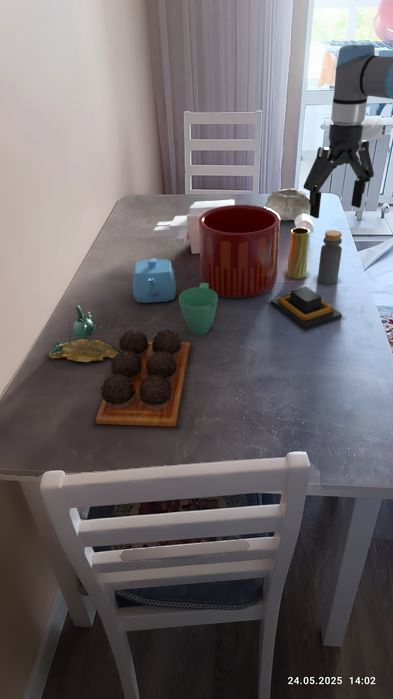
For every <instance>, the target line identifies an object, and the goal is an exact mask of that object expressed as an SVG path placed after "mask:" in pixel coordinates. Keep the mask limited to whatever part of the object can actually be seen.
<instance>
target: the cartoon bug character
mask: <svg viewBox="0 0 393 699" xmlns="http://www.w3.org/2000/svg"><path fill="white" fill-rule="evenodd" d="M75 310H76V312H77V314H78V317H77V318H76V320H75V321H74V323H73V332H72V331H69V332H67V333H66V334H65V335H66V336H68V342H64V343H62V342H59V340H58V339H56V344H55V343H54V344H53V347H52V349H50V352H49V354H48V356H49V358H51V359H62V358H63V359H64V358H66V359H67V360H71V361H74V362H75V361H76V362H81V363H82V362H83V363H90V362H96V361H97V362H99V361H103V360H104V358H110V359H113V358H114V356H116V354H118V353H119V352H120V351H119V352H118V351H117V350H116V349H113V346H112V345H111V344H108V343H106V342H104V341H101V339H99V340H98V339H95V340H92V339H90V338H89V337H91V336H92V335H93V334H94V332H95V330H96V328H97V329H99V330H101V329H102V328H104V324H100V325H99V326H97V324H94V323H93V321H92V319H93V316H92V315H91V312H90V311H88V312H87V316H86V315H84V313H83V312H82V309H81V307H80V305H75ZM71 336H74V337H73V341H71ZM77 338H80V339H78V340H76V339H77Z"/></svg>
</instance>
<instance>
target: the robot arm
mask: <svg viewBox="0 0 393 699" xmlns="http://www.w3.org/2000/svg"><path fill="white" fill-rule="evenodd" d="M375 48H376V47H375V45H374V44H373V43H366V42H365V43H364V42H363V43H361V42H360V43H359V42H358V43H347V44H343V45H342V46H341V47H339V50H338V55H337V60H336V65H335V76H334V77H335V78H334V89H333V90H334V92H333V97H332V105H331V106H332V107H331V113H330V120H331V123H330V124H329V130H328V131H329V132H328V140H329V145H328V147H322V146H319V147H318V148H317V152H316V157H315V159H314V161H313V164H312V166H311V168H310V170H309V173H308V175H307V177H306V179H305V181H304V184H303V189H304V190H307V191H309V196H308V197H309V204H311V206H310V213H309V217H313V218H315V219H319V218H320V209H321V201H322V191H321V189H322V187H323V186H324V184H325V183H326V181H327V180H328V178H329V177H330V175H331V174H332V172H333V171H334V170H335V169H337V167H338V166H342V165H349V166H350V167H351V169H352V171H353V172H354V174H355V176H356V178H357V179H354V184H353V190H352V197H351V203H350V205H351V206H353V207H355V208H357V209H359V208H361V207H362V201H363V194H364V193H365V191H366V190H365V189H366V185H367V183H370V181H371V179H372V178H373V177H374V176H375V172H374V169H373V168H374V167H373V163H372V159H371V155H370V141H368V140H365V139H362V137H363V131H364V124H363V123H362V122H364V121H365V117H366V110H367V104H368V97H375V98H381V99H389V100H393V56H387V55H386V56H383V55H382V56H380V55H375V54H376V53H375V50H376V49H375ZM357 154H358V155H357Z"/></svg>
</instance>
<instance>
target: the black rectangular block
mask: <svg viewBox="0 0 393 699" xmlns="http://www.w3.org/2000/svg"><path fill="white" fill-rule="evenodd" d="M290 294H291V296H290V304H291V305H293V306H294V307H296V308H297V309H298V310H300V311H301V312H302V313H304V314H305V315H306V314H309V313H312V312H315V311H318V310H320V307H321V300H323V297H322V296H321V295H319V294H318V293H316V292H315V291H314V290H312V289H311V288H309V287H308V286H302V287H298V288H295V289H293V290H290Z"/></svg>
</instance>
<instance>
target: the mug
mask: <svg viewBox="0 0 393 699" xmlns="http://www.w3.org/2000/svg"><path fill="white" fill-rule="evenodd" d="M218 296H219V295H217V294H216V292H215V291H213V290H211V289H210V287H209V284H207V283H202V282H201V283H200V284H199V287H191V288H188V289H186V290H185V289H184V290H183V291H182V292H181V293H180V294H179V295H178V303H179V306H180V309H181V313H182V315H183V318H184V321H185V323H186V325H187V327H188V329H189V331H190V333H192V334H193V335H196V336H202V335H205V334H207V333H208V332H209V331H210V329H211V326H212V323H213V321H214V318H215V314H216V311H217V305H218V301H219V299H218Z"/></svg>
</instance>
